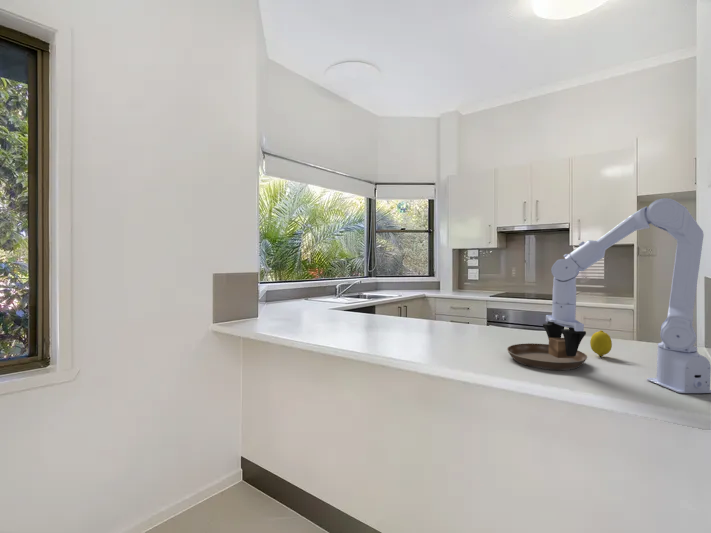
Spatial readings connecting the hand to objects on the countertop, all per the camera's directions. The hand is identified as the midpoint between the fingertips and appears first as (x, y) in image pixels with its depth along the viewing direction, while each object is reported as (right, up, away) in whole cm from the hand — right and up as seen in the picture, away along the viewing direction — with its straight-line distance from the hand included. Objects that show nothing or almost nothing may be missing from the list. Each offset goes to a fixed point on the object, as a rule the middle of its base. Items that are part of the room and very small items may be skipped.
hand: (562, 352), depth 106 cm
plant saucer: (-2, -4, +5) cm, 7 cm away
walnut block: (0, -1, 0) cm, 1 cm away
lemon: (+17, -4, +11) cm, 21 cm away
